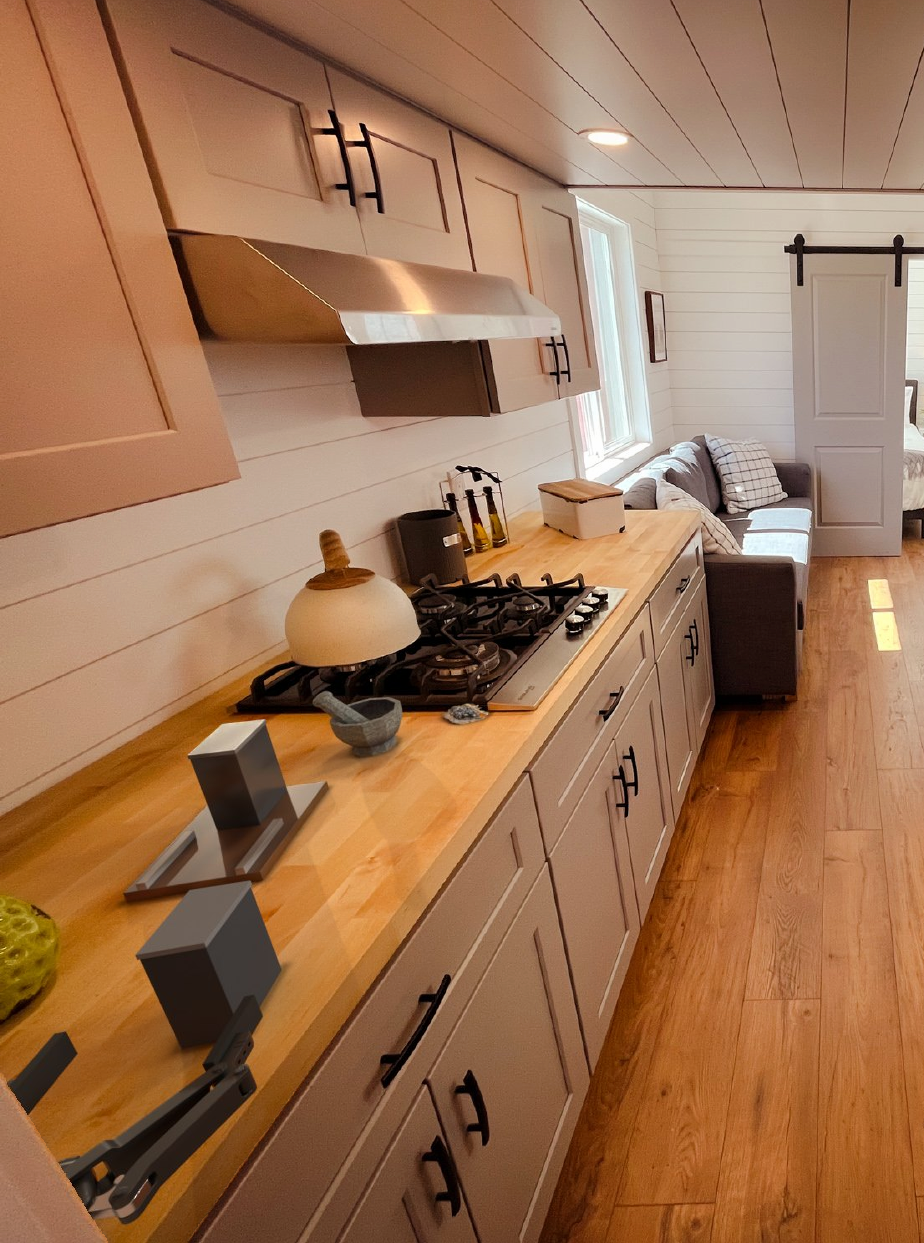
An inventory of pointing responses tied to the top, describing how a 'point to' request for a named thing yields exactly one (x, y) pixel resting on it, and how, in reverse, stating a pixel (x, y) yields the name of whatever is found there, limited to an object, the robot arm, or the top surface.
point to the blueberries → (464, 714)
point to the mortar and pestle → (363, 722)
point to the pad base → (231, 847)
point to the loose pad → (209, 960)
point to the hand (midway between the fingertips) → (163, 1023)
